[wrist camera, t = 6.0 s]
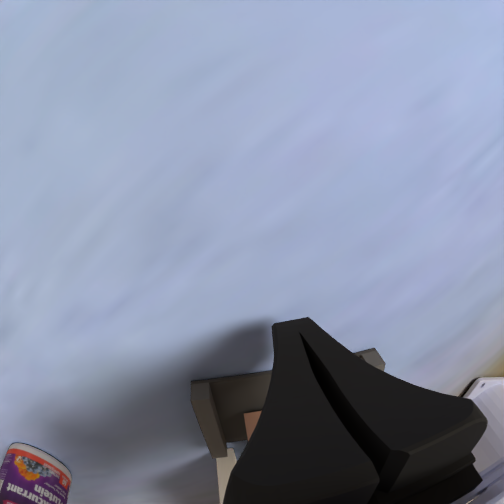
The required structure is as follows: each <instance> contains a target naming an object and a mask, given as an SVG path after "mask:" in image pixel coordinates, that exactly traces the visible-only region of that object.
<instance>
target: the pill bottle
mask: <svg viewBox="0 0 504 504" xmlns="http://www.w3.org/2000/svg"><path fill="white" fill-rule="evenodd" d="M71 481H72V477H71V474H70V472H69V471H68V469H67V468H66V467H65V466H64V465H63V464H62V463H60V462H59V461H58V460H56V459H55V458H53V457H52V456H50V455H49V454H47V453H45V452H43V451H41V450H39V449H37V448H35V447H32V446H29V445H26V444H22V443H14V444H12V445H11V446H10V447H9V449H8V451H7V454H6V456H5V459H4V461H3V464H2V466H1V469H0V504H67V499H68V495H69V491H70V486H71Z"/></svg>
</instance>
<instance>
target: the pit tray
mask: <svg viewBox="0 0 504 504" xmlns="http://www.w3.org/2000/svg"><path fill="white" fill-rule="evenodd" d="M354 354H355V355H356V356H358V357H359V358H361V359H363V360H364V361H366V362H367V363H369V364H371V365H372V366H374V367H376V368H378V369H380V370H382V371H384V368H385V362H384V361H383V359H382V358H381V356H380V355H379V353H378V352H377V350H376V349H375V348H372V349H369V350H365V351H361V352H357V353H354ZM271 374H272V370H271V371H265V372H259V373H253V374H246V375H239V376H232V377H224V378H216V379H208V380H199V381H191V403H192V406H193V409H194V412H195V414H196V417H197V420H198V423H199V425H200V428H201V431H202V433H203V436H204V438H205V441H206V443H207V446H208V448H209V451H210V453H211V456H212V458H222V457H228V456H227V446H226V443H227V442H235V441H243V440H248V438H247V432H246V425H245V419H244V413H251V412H257V411H262V408H263V406H264V403H265V399H266V396H267V392H268V389H269V385H270V380H271Z"/></svg>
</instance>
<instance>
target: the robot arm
mask: <svg viewBox="0 0 504 504" xmlns="http://www.w3.org/2000/svg"><path fill="white" fill-rule="evenodd" d="M272 336H273V348H274V362H273V369H272V374H271V380H270V385H269V389H268V392H267V396H266V399H265V403H264V406H263V408H262V411H261V414H260V417H259V419H258V422H257V424H256V427H255V429H254V431H253V433H252V435H251V437H250V439H249V441H248V443H247V445H246V447H245V449H244V451H243V453H242V454H241V456H240V458H239V459H238V461H237V463H236V464H235V466H234V467H233V469H232V471H231V473H230V477H229V480H228V483H227V487H226V491H225V495H224V500H223V504H466V503H467V502H468V501H470V500H472V499H474V500H473V501H471V502H470V503H468V504H504V377H486V378H478V379H477V380H476V381H475V382H474V383H473V385H472V386H471V387H470V389H469V390H468V391H467V392H466V394H465V395H464V396H463V397H457V396H452V395H447V394H442V393H439V392H435V391H432V390H428V389H425V388H422V387H419V386H416V385H413V384H411V383H408V382H406V381H403V380H401V379H398V378H396V377H394V376H392V375H389V374H387V373H386V372H384V371H382V370H380V369H378V368H376V367H374V366H372V365H371V364H369V363H367V362H366V361H364V360H363V359H361V358H359V357H358V356H356V355H355V354H354V353H352V352H351V351H349V350H348V349H347V348H345V347H344V346H343V345H341V344H340V343H339V342H337V341H336V340H335V339H334V338H332V337H331V336H330V335H329V334H328V333H326V332H325V331H324V330H323V329H322V328H321V327H319V326H318V325H317V324H316V323H315V322H314V321H313V320H311V319H310V318H309V317H306V318H301V319H296V320H290V321H285V322H279V323H274V324H273V326H272Z"/></svg>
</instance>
